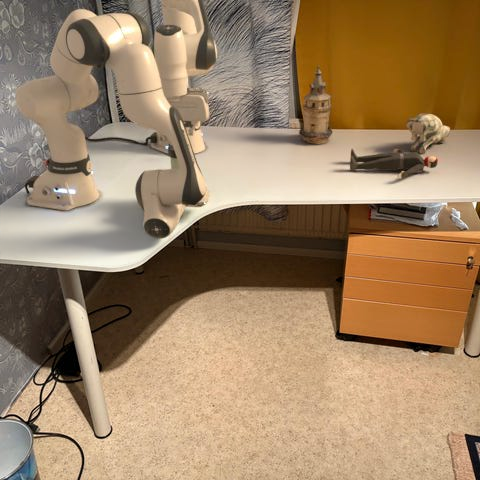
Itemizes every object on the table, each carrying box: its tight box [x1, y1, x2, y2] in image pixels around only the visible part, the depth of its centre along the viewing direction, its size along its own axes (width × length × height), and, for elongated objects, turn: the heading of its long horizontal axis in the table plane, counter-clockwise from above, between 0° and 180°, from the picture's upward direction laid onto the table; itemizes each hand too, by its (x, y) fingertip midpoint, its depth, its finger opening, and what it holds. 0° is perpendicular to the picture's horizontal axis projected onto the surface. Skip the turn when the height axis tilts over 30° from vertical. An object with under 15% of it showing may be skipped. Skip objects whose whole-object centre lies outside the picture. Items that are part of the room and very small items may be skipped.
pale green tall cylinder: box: [169, 157, 180, 169], centre depth 166 cm, size 5×5×18 cm
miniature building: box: [298, 65, 333, 145], centre depth 213 cm, size 13×14×30 cm
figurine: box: [406, 113, 451, 154], centre depth 207 cm, size 10×19×20 cm
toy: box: [349, 148, 439, 180], centre depth 190 cm, size 26×6×30 cm
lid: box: [167, 145, 177, 158], centre depth 162 cm, size 6×6×2 cm
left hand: (180, 184), depth 168 cm, fingers closed on pale green tall cylinder, 5 cm apart
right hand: (176, 134), depth 159 cm, fingers open, 8 cm apart
